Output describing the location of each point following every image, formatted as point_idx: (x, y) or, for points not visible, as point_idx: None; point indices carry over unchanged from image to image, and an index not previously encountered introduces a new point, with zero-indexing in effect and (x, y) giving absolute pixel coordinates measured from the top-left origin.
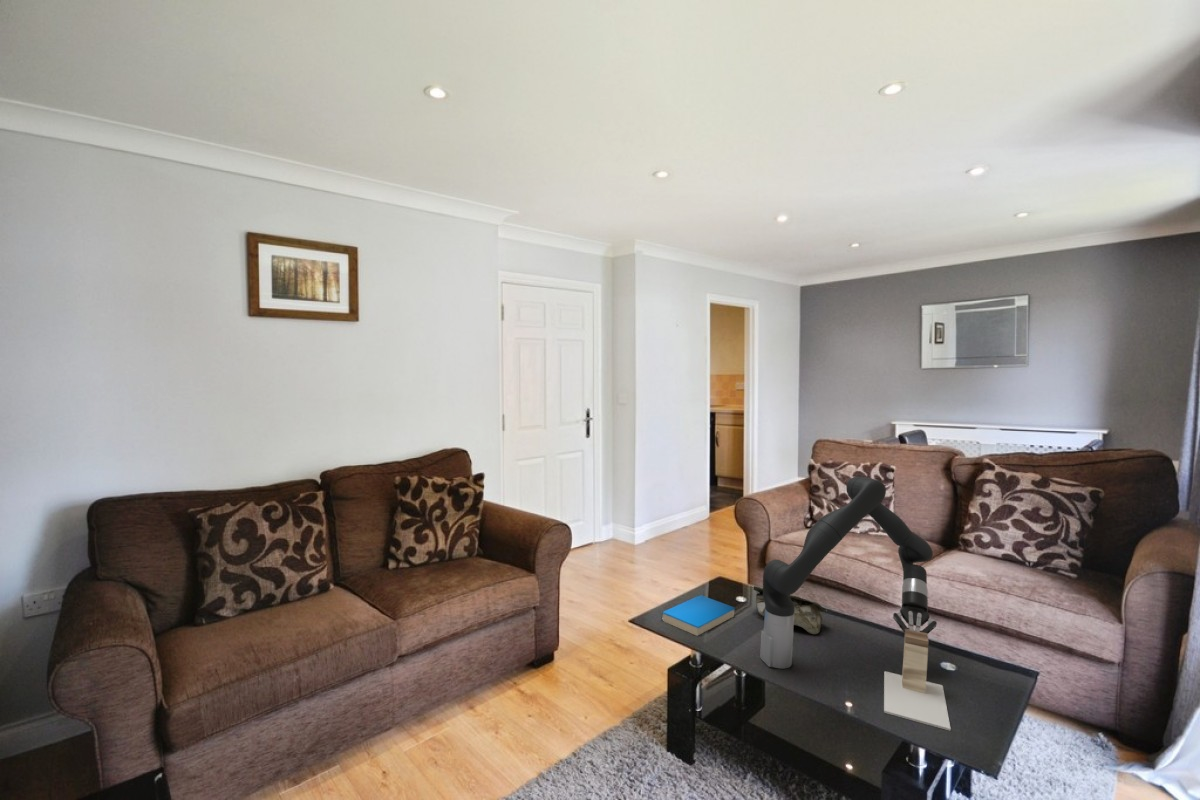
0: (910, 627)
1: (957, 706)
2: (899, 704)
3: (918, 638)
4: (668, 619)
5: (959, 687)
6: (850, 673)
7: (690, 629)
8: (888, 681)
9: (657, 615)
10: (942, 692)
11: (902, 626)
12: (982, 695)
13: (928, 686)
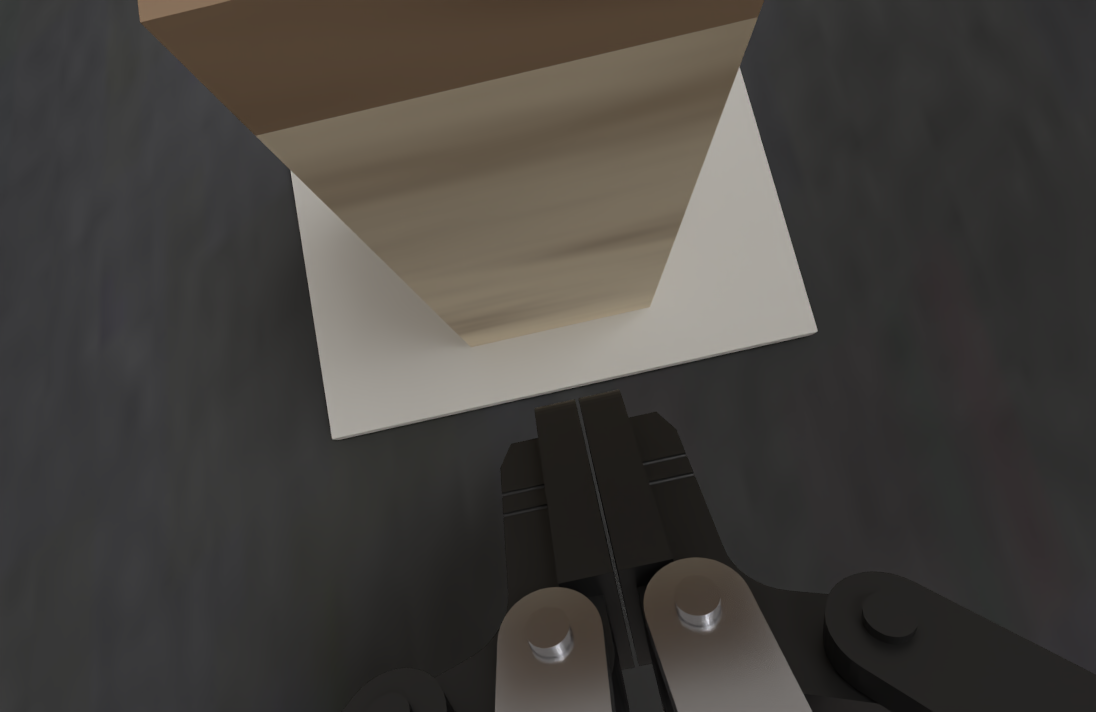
0: (764, 696)
1: (218, 199)
2: None
3: None
4: None
5: (214, 552)
6: (1040, 105)
7: None
8: (731, 160)
9: None
10: (321, 301)
11: (981, 626)
12: (45, 541)
13: (432, 325)
